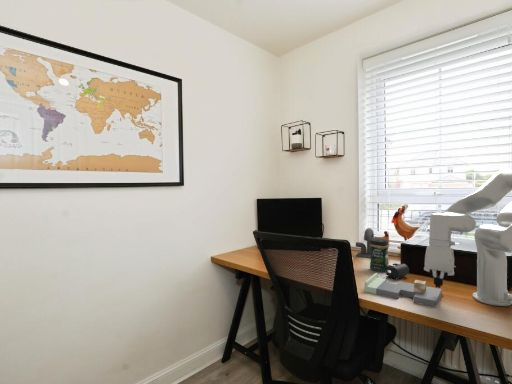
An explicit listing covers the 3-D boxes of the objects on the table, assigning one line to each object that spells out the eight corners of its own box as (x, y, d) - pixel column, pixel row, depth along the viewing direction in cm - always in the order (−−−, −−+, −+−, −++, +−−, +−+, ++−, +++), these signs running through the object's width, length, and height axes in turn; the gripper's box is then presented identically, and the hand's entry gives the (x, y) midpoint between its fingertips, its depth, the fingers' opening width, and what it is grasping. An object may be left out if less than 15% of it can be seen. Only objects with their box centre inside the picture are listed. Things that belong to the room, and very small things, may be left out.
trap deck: (441, 294, 126) (441, 284, 126) (436, 307, 114) (436, 296, 114) (375, 281, 144) (375, 272, 144) (364, 291, 132) (364, 281, 132)
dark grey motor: (398, 281, 144) (398, 268, 144) (385, 277, 150) (385, 265, 150) (409, 277, 149) (409, 264, 149) (396, 274, 155) (396, 261, 155)
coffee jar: (367, 270, 163) (367, 237, 162) (373, 267, 168) (373, 235, 168) (385, 273, 156) (385, 240, 155) (390, 270, 161) (390, 237, 161)
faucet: (352, 259, 186) (351, 228, 186) (357, 254, 200) (357, 225, 199) (382, 263, 177) (382, 230, 176) (385, 257, 190) (385, 227, 189)
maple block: (426, 290, 125) (426, 281, 125) (424, 293, 122) (424, 284, 122) (415, 288, 127) (415, 279, 127) (413, 291, 124) (413, 282, 124)
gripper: (462, 244, 117) (460, 288, 118) (421, 239, 127) (419, 280, 127) (461, 247, 111) (459, 294, 112) (417, 241, 121) (416, 284, 122)
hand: (438, 286), depth 120 cm, fingers closed
